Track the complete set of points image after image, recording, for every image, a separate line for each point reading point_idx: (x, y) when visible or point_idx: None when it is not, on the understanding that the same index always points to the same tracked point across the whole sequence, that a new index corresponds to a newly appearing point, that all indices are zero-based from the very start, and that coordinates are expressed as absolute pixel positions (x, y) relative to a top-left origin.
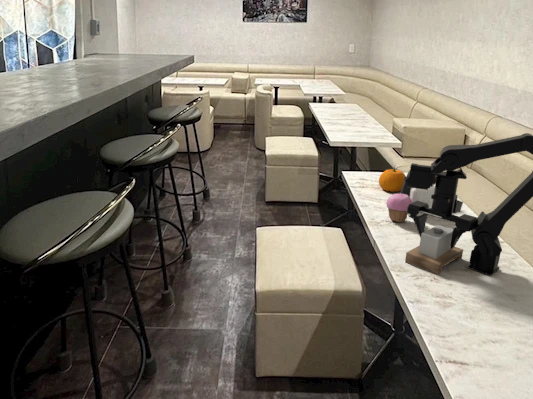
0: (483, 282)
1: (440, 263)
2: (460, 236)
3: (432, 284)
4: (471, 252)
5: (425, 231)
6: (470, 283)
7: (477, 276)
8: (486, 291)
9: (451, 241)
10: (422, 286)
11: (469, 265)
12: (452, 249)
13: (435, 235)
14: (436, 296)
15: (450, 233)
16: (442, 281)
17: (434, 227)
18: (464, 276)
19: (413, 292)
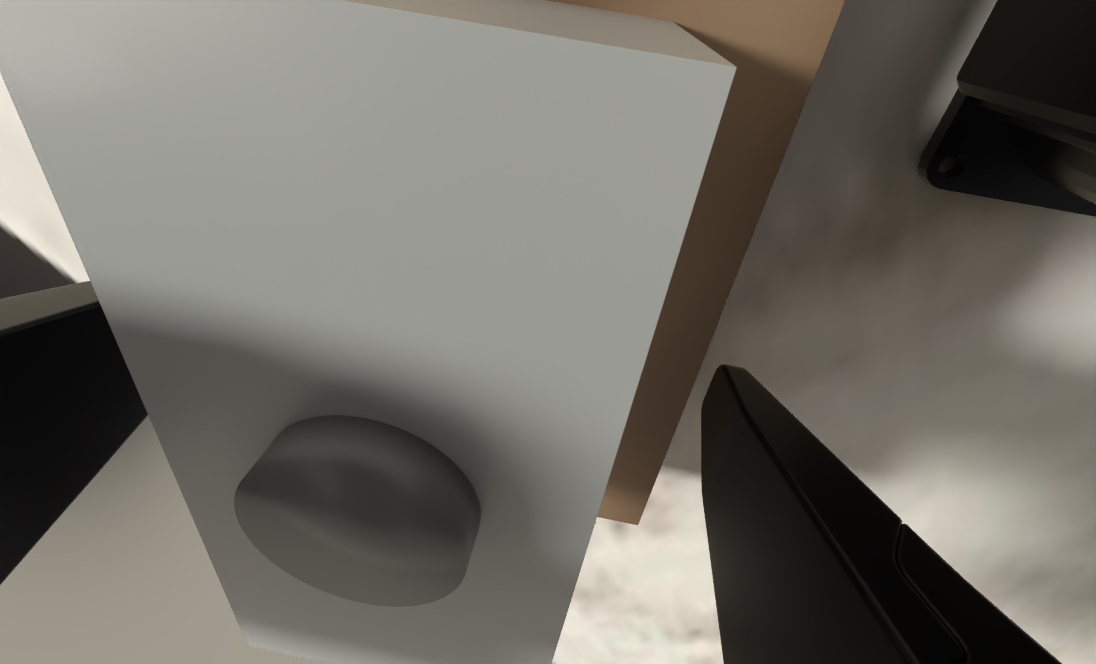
0: (1045, 391)
1: (639, 502)
2: (942, 570)
3: (640, 559)
4: (1083, 125)
5: (218, 573)
6: (906, 455)
7: (1004, 309)
8: (1031, 504)
9: (719, 571)
10: (597, 591)
11: (946, 146)
12: (690, 27)
13: (432, 638)
14: (691, 635)
15: (633, 381)
16: (690, 511)
17: (124, 300)
18: (858, 374)
19: (579, 640)
